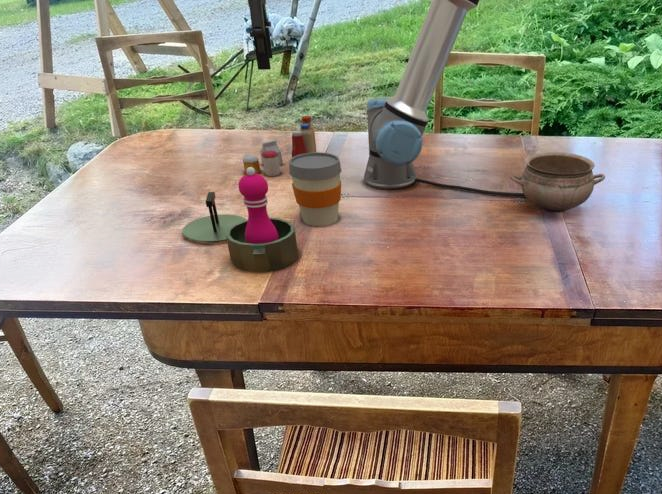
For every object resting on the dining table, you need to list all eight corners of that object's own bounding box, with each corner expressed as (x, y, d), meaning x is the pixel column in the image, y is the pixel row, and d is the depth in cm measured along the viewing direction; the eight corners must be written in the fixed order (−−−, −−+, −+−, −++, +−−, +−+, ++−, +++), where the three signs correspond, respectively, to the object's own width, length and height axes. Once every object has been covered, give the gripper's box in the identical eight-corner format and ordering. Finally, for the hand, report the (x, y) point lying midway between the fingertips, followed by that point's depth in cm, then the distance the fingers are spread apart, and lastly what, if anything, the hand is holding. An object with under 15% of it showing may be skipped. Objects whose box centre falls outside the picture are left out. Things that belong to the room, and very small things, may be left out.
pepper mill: (252, 265, 132) (236, 175, 120) (244, 251, 137) (228, 164, 126) (285, 258, 135) (272, 169, 123) (276, 245, 140) (262, 159, 128)
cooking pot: (513, 223, 154) (518, 175, 146) (502, 195, 169) (505, 151, 162) (609, 221, 155) (619, 174, 148) (589, 194, 170) (597, 150, 163)
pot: (297, 236, 146) (294, 211, 142) (297, 275, 130) (294, 247, 126) (235, 240, 143) (230, 214, 140) (227, 280, 127) (221, 252, 124)
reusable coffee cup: (286, 224, 151) (277, 164, 142) (310, 206, 161) (304, 149, 152) (330, 232, 148) (325, 171, 139) (353, 213, 157) (349, 155, 149)
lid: (252, 217, 155) (246, 183, 149) (248, 243, 142) (241, 207, 137) (188, 220, 152) (180, 186, 147) (179, 247, 140) (169, 211, 135)
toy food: (310, 152, 198) (306, 113, 191) (334, 161, 191) (331, 121, 184) (238, 170, 183) (231, 129, 176) (261, 181, 176) (254, 139, 169)
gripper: (236, -49, 137) (252, 54, 150) (226, -44, 117) (245, 74, 130) (270, -49, 138) (283, 53, 151) (266, -44, 119) (281, 74, 131)
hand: (265, 63), depth 140 cm, fingers open, 13 cm apart
